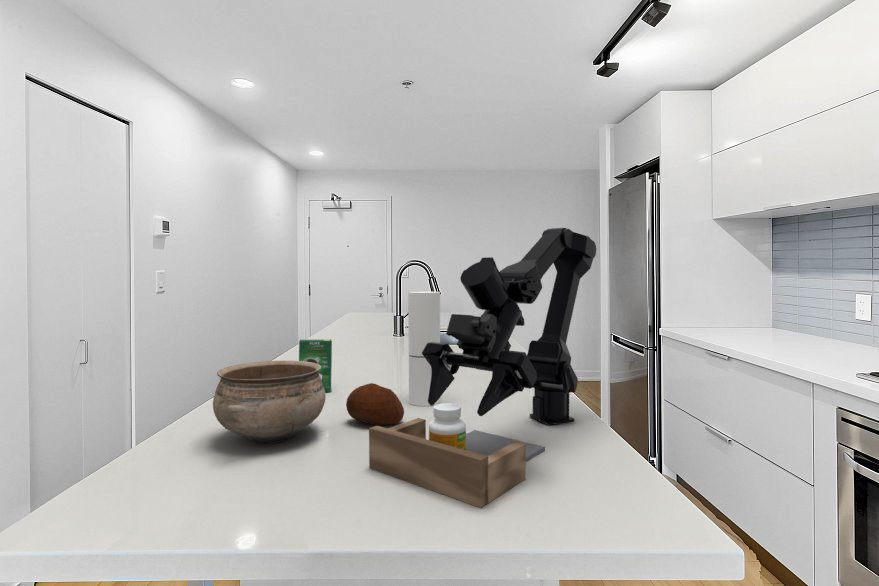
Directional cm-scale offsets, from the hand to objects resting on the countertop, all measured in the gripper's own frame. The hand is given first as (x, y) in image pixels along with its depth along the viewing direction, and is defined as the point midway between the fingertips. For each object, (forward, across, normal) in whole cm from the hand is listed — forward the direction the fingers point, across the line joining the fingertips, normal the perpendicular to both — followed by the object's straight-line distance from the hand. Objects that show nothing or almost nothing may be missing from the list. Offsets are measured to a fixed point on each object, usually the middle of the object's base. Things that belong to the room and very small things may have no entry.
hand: (453, 409), depth 73 cm
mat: (-1, 0, +13) cm, 13 cm away
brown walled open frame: (+7, 0, +5) cm, 9 cm away
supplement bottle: (+8, 0, +6) cm, 9 cm away
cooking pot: (+13, -34, 0) cm, 37 cm away
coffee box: (-6, -56, +18) cm, 59 cm away
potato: (+1, -26, +12) cm, 29 cm away
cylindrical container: (-12, -29, +25) cm, 40 cm away
